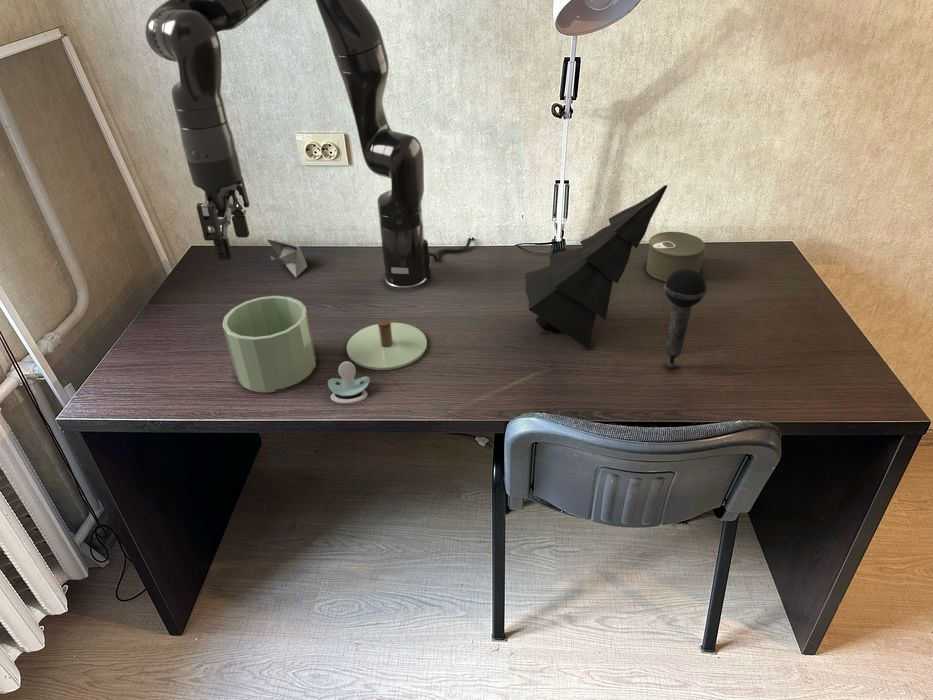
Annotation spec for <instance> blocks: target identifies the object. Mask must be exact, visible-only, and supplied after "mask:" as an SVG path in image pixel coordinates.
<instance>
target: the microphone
mask: <svg viewBox="0 0 933 700" xmlns="http://www.w3.org/2000/svg"><path fill="white" fill-rule="evenodd" d="M663 288H664V292H665V295H666V297H667V300H668V301H670V302H671V303H672V305H671V310H670V318H669V326H668V333H667V341H666V347H665V353H666V354H667V355H668V357H669V361H668V362H667V365H666V366H667V368H668V369H674V368H675V367H676V363H675V358H678V357H679V356H681V354H682V351H683V346H684V341H685V337H686V335H687V334H686V333H687V329H688V324H689V320H690V318H691V317H690V316H691V311H692V307H694V306H695V305H696V304H698V303H700V301H701V300H703V298H704V296H705V295H706V293H707V284H706V281H705V278H704V277H703V275H702V274H701V273H700V272H697V271H696V270H693V269H689V268H682V269H679V270H676V271H675V272H673V273H672V274H671V275H670V276H669V277H668V279H667V281H664V285H663Z"/></svg>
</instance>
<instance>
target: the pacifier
mask: <svg viewBox="0 0 933 700" xmlns="http://www.w3.org/2000/svg"><path fill="white" fill-rule="evenodd" d="M337 371H338V375H339V376H340V377H341V378H338V377H332V378H329V379H328V381H327V386H328V388H329V390H330V391H331V392H332V393H331V394H330V399H331V401H333V402H335V403H337V404H354V403H358V402H361V401H363V400H365V399H366V398H367V396H368V392H367V390H366V389H367V388H368V387H369V384H370V381H371V378H370V377H369V376H362V377H359V378H356V379H355V377H356V375H357V374H356V373H357V368H356V366H355V365H354V364H353V362H351V361H349V360H348V361H347V360H345V361H342V362H341V363H340V364H339V365H338V369H337ZM359 394H361V395H359ZM356 395H359V396H357V397H354V398H348V399H347V398H340V397H338V396H341V397H352V396H356Z"/></svg>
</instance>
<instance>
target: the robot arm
mask: <svg viewBox="0 0 933 700" xmlns="http://www.w3.org/2000/svg"><path fill="white" fill-rule="evenodd" d="M270 1H271V0H166V1H165V2H164V3H161V5H159V6H158V7H156V9H154V10H153V11H152V12H151V14H150V16H149V17H148V18H147V21H146V24H145V30H144V31H145V32H144V33H145V39H146V42H147V44H148V46H149V47H150V49H151V51H153V52H154V54H156V55H157V56H159V57H161V58H162V59H164V60H166V61H169V62H175V63H177V66H178V73H179V81H178V82H176V83H175V84H174V85H173V86H172V87H171V100H172V104H173V107H174V112H175V116H176V118H177V122H178V126H179V131H180V139H181V145H182V148H183V151H184V156H185V160H186V163H187V166H188V170H189V174H190V178H191V181H192V184H193V185H194V186H195V187H196V188H199V189H201V190H202V191H203V192H204V199H205V202H197V203H196V210H197V215H198V220H199V223H200V227H201V232H202V235H203V239H204V241H207V242H208V241H209V242H211V241H213V247H214V250H215V253H216V256H217V259H218V261H219V260H220V261H230V260H231V259H232V258H233V252H232V248H231V245H230V241H229V238H228V227H229V226H230V225H231V224H232V226H233V230H234V234H235V236H236V237H237V238H240V239H241V238H243V239H244V238H246V239H247V238H249V236H250V230H249V226H248V225H249V224H248V222H247V221H248V220H247V217H246V216H247V213H248V211H247V208H250V201H249V197H248V192H247V188H246V185H245V181H244V176H243V173H242V168H241V164H240V160H239V156H238V151H237V146H236V142H235V138H234V134H233V131H232V128H231V125H230V123H229V120H228V115H227V110H226V106H225V102H224V101H225V100H224V98H223V94H222V82H223V81H222V80H223V59H222V57H223V56H222V55H223V52H222V45H221V40H220V37H219V32H220V33H221V32H224V31H230V30H234V29H236V28H238V27H240V26H242V24H244V23H245V22H246V21H247V20H249V19H250V18H251V17H253V15H255V14H256V13H257V12H259V11H260V9H262V8H263V7H264V6H266V4H268V3H269V2H270ZM315 3H316V5H317V8H318V11H319V15H320V17H321V20H322V22H323V26H324V28H325V31H326V34H327V37H328V40H329V43H330V47H331V50H332V54H333V56H334V59H335V62H336V66H337V69H338V71H339V75H340V76H341V79H342V81H343V84H344V85H343V86H344V88H345V92H346V94H347V98H348V101H349V104H350V108H351V110H352V114H353V118H354V121H355V126H356V130H357V135H358V139H359V143H360V148H361V152H362V157H363V160H364V162H365V164H366V166H367V168H368V169H369V170H370V172H371V173H373V174H375V175H377V176H379V177H383V178H387V179H390V181H391V183H390V185H391V189H389V190H387V191H384V192H382V193H381V194H379V196H378V197H377V211H378V219H379V220H378V221H379V229H380V239H381V249H382V257H383V258H382V259H383V266H384V281H385V284H387V285H388V286H389V287H391V288H394V289H399V290H409V289H413V288H417V287H420V286H422V285H424V284H425V283H426V282H427V280H430V279H431V270H430V264H431V257H433V259H434V261H435V262H439V260H440V255H441V254H443V253H448V252H449V253H460V252H465V251H467V249H468V248H469V247H470V245H471V242H472V241H475V238H474V237H473V236H471V237H472V239H471V238H469V237H468V239H467V242H466V244H465V245H464V246H462V247H459V248H450V247H449V248H447V247H446V248H441V249H439V250H437V251H436V253H434V252H430V251H429V242H428V241H427V239H425V233H424V222H423V221H424V219H423V205H422V204H423V203H422V202H423V197H424V192H425V160H424V151H423V147H422V145H421V142H420V140H419V139H418V137H416V136H414V135H411V134H407V133H405V132H404V133H403V132H399V131H394V130H392V128H391V127H390V125H389V122H388V118H387V115H386V112H385V109H384V95H385V91H386V87H387V83H388V78H389V73H390V61H389V58H388V54H387V50H386V46H385V43H384V39H383V35H382V32H381V30H380V27H379V25H378V23H377V21H376V19H375V18H374V16H373V14H372V13H371V11H370V10H369V9H368V7H367V6H366V5H365V3H364V2H363V1H362V0H315ZM231 222H232V223H231Z"/></svg>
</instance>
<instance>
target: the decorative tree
mask: <svg viewBox="0 0 933 700" xmlns="http://www.w3.org/2000/svg"><path fill="white" fill-rule="evenodd" d="M667 188H668V185H667V184H665V185H663V186H662V187H660V188H659V189H658V190H656V191H655V192H654V193H653V194H651V195H650V196H648V197H647V198H644V199H643V200H641V201H639V202H638V203H636V204H634V205H632V206H629V207H628V208H625V209H623V210H621V211H619V212H618V213H616V214H614V215H613V216H611V217H609V218H608V222H609V225H607V226H605V227H603V228H601V229H599V230H598V231H597V232H595V233H594V234H592V235H591V236H588V237H587V238H584V239H582V240H580V241H579V243H580V245H581V247H578V248H573V249H567V250H560V251H557V252H555V253H552V254H550V255H548V258H549V265H550V266H545V267H541V268H539V269H536V270H532V271H528V272H525V294H526V297H527V300H528V311H530V312H531V313H532V314H534V315H536V316H537V317H536V318H535V322H536V324H537V325H538V327H540V328H541V329H542V330H544V331H547V332H550V331H551V330H552V329H553V328H555V329H557V330H558V331H560V332H562V333H563V334H564V335H566V336H567V337H569V338H570V339H573V340H574V341H576V342H577V343H578V344H580V345H582V346H584V347H586V348H588V349H590V344H591V337H592V332H593V328H594V324H595V322H596V317H597V316H599V317H600V318H601V319H603V320H604V321H606V319H607V314H608V310H609V303H610V299H611V294H612V288H613V283H615V284H618V283H619V282H620V280H621V278H622V276H623V274H624V272H625V271H626V267H627V265H628V262H629V260H630V256H631V253H632V248H635V249H637V248H638V247H639V245H640V243H641V242H642V240H643V238H644V236H645V235H646V233H647V230H648V227H649V225H650V223H651V220H652V217H654V214H655V212H656V210H657V208H658V206H659V204H660V202H661V200H662V198H663V196H664V194H665V193H666V191H667Z"/></svg>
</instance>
